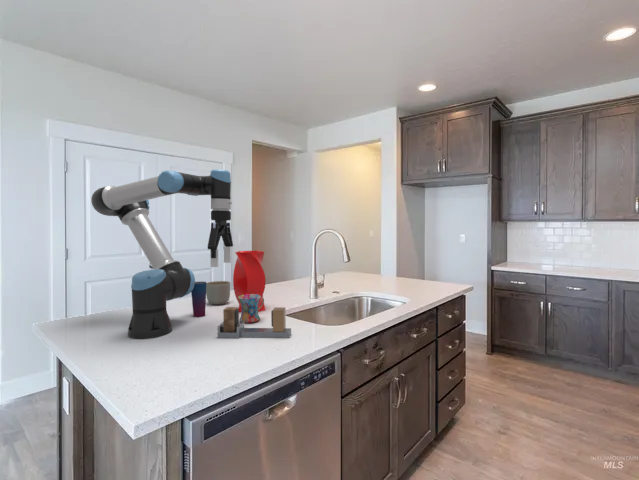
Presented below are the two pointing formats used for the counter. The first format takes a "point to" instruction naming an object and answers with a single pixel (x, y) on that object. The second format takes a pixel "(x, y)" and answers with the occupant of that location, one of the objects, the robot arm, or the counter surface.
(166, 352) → the counter surface
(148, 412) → the counter surface
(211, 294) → the planter
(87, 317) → the counter surface
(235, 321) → the block
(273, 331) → the rail
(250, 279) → the vase
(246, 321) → the mug
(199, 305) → the cup
